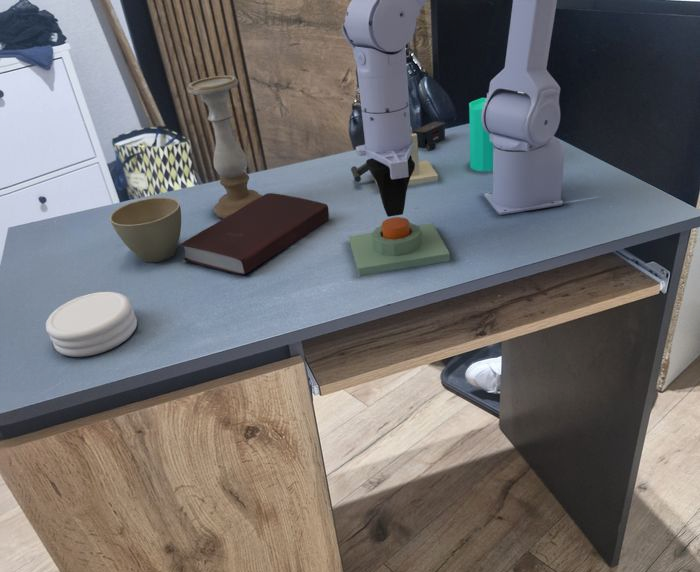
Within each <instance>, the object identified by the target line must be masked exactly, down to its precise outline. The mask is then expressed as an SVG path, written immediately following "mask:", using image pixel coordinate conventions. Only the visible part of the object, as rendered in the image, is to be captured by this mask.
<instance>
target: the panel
mask: <svg viewBox="0 0 700 572" xmlns="http://www.w3.org/2000/svg"><path fill="white" fill-rule="evenodd" d="M409 228H410V235H409V236H407V237H404V238H401V239H386V238H384V237H383V231H382V225H379V226H378V227H376V228H375V229H374V230H373V231H372V232H369V233H364V234H363V233H362V234H357V235H350V236H349V237H348V238H349V245H350V248H351V252H352V256H353V259H354V263H355V266H356V271H357V274H358V276H359V277H363V276H368V275H374V274H375V275H376V274H380V273H387V272H393V271H400V270H404V269H410V268H411V269H412V268H417V267H422V266H429V265H435V264H442V263H447V262H451V253H450V251H449V250H448V248H447V246H446V244H445V242H444V240H443V239H442V237H441V235H440V233H439V232H438V230H437V229H436V227H435V224H434V223H433V222H431V223H430V222H429V223H425V224H418V225H417V224H415V223H412V222H409Z"/></svg>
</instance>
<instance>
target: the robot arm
mask: <svg viewBox="0 0 700 572" xmlns="http://www.w3.org/2000/svg"><path fill="white" fill-rule="evenodd" d="M428 1H429V0H351V1H350V2H349V4H348V6H347V9H346V12H345V15H344V16H345V17H344V23H343V24H341V32H342V35H343V38H344V39H345V41H346V42H347V43H348V45H349V46H350V47H351V49H352V52H353V60H354V62H355V64H356V72H357V81H358V82H357V83H358V91H359V100H360V109H361V118H362V127H363V137H364V138H363V139H364V144H361V145H357V146H355V153H356V156H358V157H364V156H367V157H368V159H367V160H366V161H365V163H367V166H368V168H369V170H368V171H369V173H370V174H371V175H373V176H372V178H373V177H374V178H373V180H374V179H375V180H376V182H377V185H378V187H377V190H378V192H379V197H380V200H381V203H382V206H383V209H384V211H385V214H386V216H387V217H388V218H389V217H390V218H391V217H398V216H401V215H403V214H404V211H405V206H406V200H407V199H406V198H407V191H408V187H409V186H408V183H409V180H410V177H411V175H412V173H413V171H414V168H415V163H414V161H413V160H412V156H411V155H410V154H411V152H412V150H413V148H414V144H413V140H412V139H411V127H412V124H411V123H412V122H411V110H410V95H409V81H408V79H409V78H408V66H407V64H408V63H407V51H406V50H407V49H406V48H407V47H406V46H407V45H408V44H409V43H411V42H412V40H413V37H414V35H415V32H416V25H417V19H418V17H419V15H420V14H421V10H422V9H423V7H424V6H426V4H427V2H428ZM557 2H558V0H512V8H511V14H510V16H511V17H510V23H509V29H508V38H507V47H506V53H505V54H506V55H505V61H504V68H503V69H502V70H501V71H500V72H499V73H497V74H496V75H495V76H494V77H493V78H492V79H491V80H490V82H489V87H488V92H487V93H488V96H487V95H486V98H487V99H486V101H485V103H484V105H483V108H482V114H481V121H482V125H483V128H484V130H485V131H486V132H487V133H489V134H490V142H493V171H492V191H490V192H485V193H484V195H483V196H484V198H485V200H486V201H488V203H489V204H490V205H491V207H492V208H493V209H494V210H495V212H496V213H497V214H498V215H500V216H501V215H502V216H503V215H508V214H509V215H510V214H515V213H522V212H528V211H535V210H541V209H547V208H553V207H559V206H563V204H564V201H563V200H562V195H563V194H562V191H563V176H564V165H565V164H564V163H565V162H564V157H565V156H564V150H563V146H562V143H561V142H560V140H559V138H557V137H555V135H556V133H557V131H558V129H559V125H560V122H561V106H560V94H561V87H560V84H558V82H557V81H556V80H555V79H554V77H553V76H552V75H551V74H550V72H549V71H548V69H547V67H548V61H549V55H550V54H549V53H550V48H551V42H552V41H551V40H552V35H553V29H554V22H555V15H556V9H557V4H558V3H557ZM375 180H374V181H375ZM376 182H375V183H376ZM377 185H376V186H377Z"/></svg>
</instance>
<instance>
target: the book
mask: <svg viewBox="0 0 700 572" xmlns="http://www.w3.org/2000/svg"><path fill="white" fill-rule="evenodd" d="M262 195H263V194H262ZM329 217H330V213H329V206H328V204H326V203H325V202H320V201H316V200H312V199H307V198H302V197H297V196H292V195H287V194H281V193H273V192H269V193H265V194H264V195H263V196H261V197H260V198H258V199H256V200H254V201H253V202H251V203H249V204H247V205H246V206H244V207H242V208H241V209H239V210H238V211H236V212H234V213H233V214H231V215H229V216H227V217H226V218H224V219H223V218H221V220H219V221H218V222H216V223H213V224H212V225H211V226H209V227H206V228H205V229H203V230H201V231H200V232H198V233H196V234H195V235H193V236H191V237H189V238H188V239H186V240H185V241H183V242H182V243H181V244H180V247H183V249H184V257H183V258H182V259H183V260H184V261H185V262H188V263H192V264H195V265H198V266H204V267H207V268H212V269H215V270H220V271H224V272H228V273H232V274H237V275H242V276H244V275H246V274H247V273H250V272H251V271H253V270H254V269H256V268H257V267H258V266H260V265H262V264H263V263H265V262H266V261H267V260H269V259H271V258H272V257H274V256H275V255H277V254H279V253H280V252H282V251H284V250H285V249H286V248H287V247H289V246H291V245H292V244H294V243H295V242H297V241H299V240H300V239H302V238H303V237H305V236H306V235H308V234H310V233H311V232H313V231H314V230H316V229H317V228H319V227H320V226H322V225H323V224H325V223H326V222H328V220H329Z"/></svg>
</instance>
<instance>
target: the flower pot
mask: <svg viewBox="0 0 700 572" xmlns="http://www.w3.org/2000/svg"><path fill="white" fill-rule="evenodd" d="M109 222H110V223H111V225H112V227H113V229H114V231H115V232H116V234H117V236H118V237H119V238H120V240H121V241H122V242H123V243H124V245H125V247H127V248H128V250H130V251H131V253H133V254H134V255H135V256H136V257H137V258H139V259H140V260H141V261H143V262H146V263H158V262H163V261H166V260H168V259H170V258H172V257H174V255H175V254H176V251H177V249H178V245H179V242H180V237H181V231H182V208H181V202H180V201H179V200H177V199H176V198H173V197H168V196H156V197H149V198H143V199H138V200H135V201H132V202H129V203H126V204H124V205H122V206H120V207H118V208H117V209H115V210H114V211H113V212H111V214H110V215H109Z"/></svg>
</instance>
